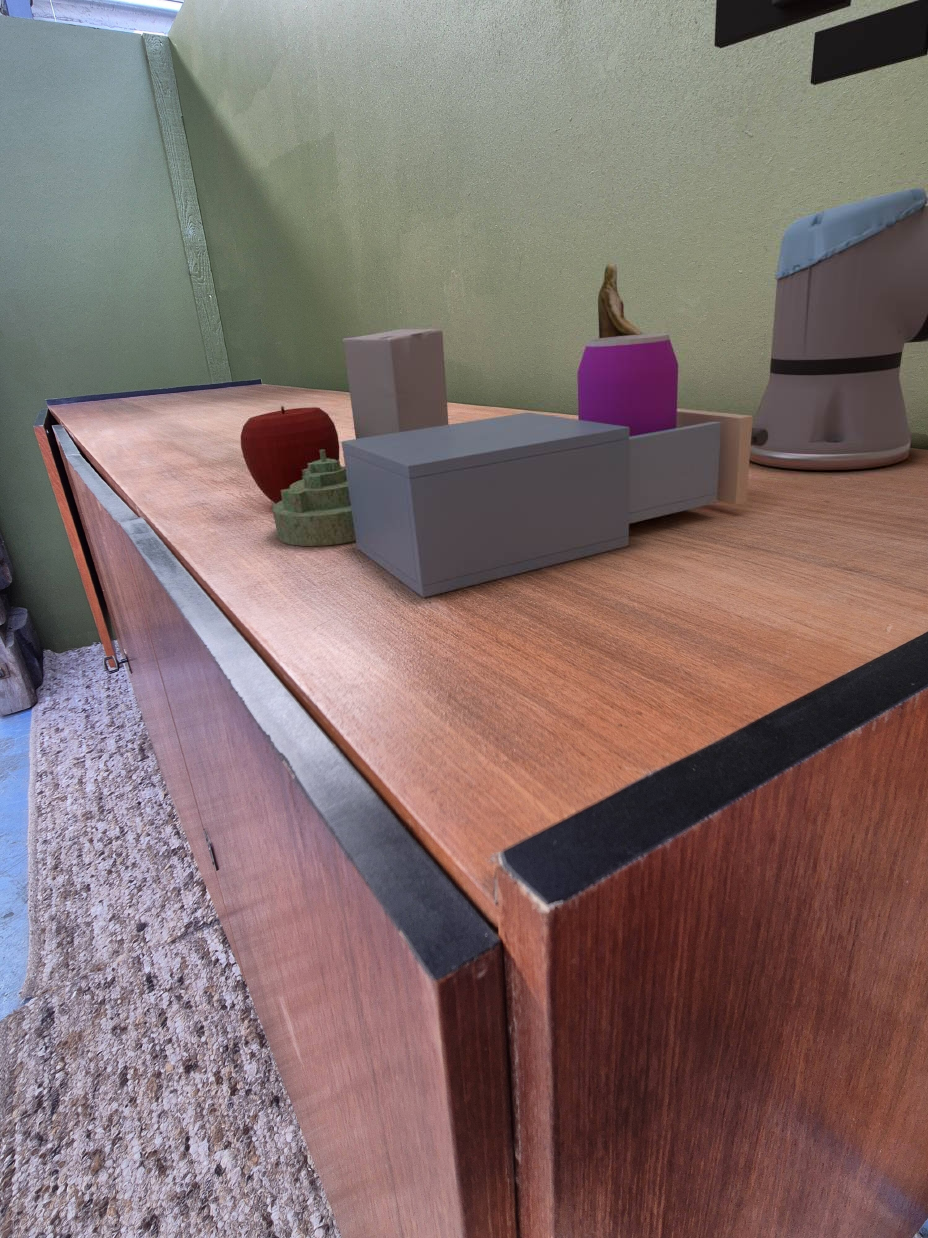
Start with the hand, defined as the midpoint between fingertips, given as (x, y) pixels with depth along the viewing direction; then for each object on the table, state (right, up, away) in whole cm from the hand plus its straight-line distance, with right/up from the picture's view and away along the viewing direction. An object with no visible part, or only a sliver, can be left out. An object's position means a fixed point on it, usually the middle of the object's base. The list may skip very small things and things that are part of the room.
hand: (770, 39), depth 42 cm
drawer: (-3, -24, +18) cm, 30 cm away
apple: (-35, -23, +32) cm, 52 cm away
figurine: (-2, -19, +34) cm, 39 cm away
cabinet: (-16, -29, +13) cm, 36 cm away
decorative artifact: (-30, -26, +22) cm, 45 cm away
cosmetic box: (-24, -21, +34) cm, 46 cm away
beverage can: (-5, -24, +17) cm, 30 cm away
